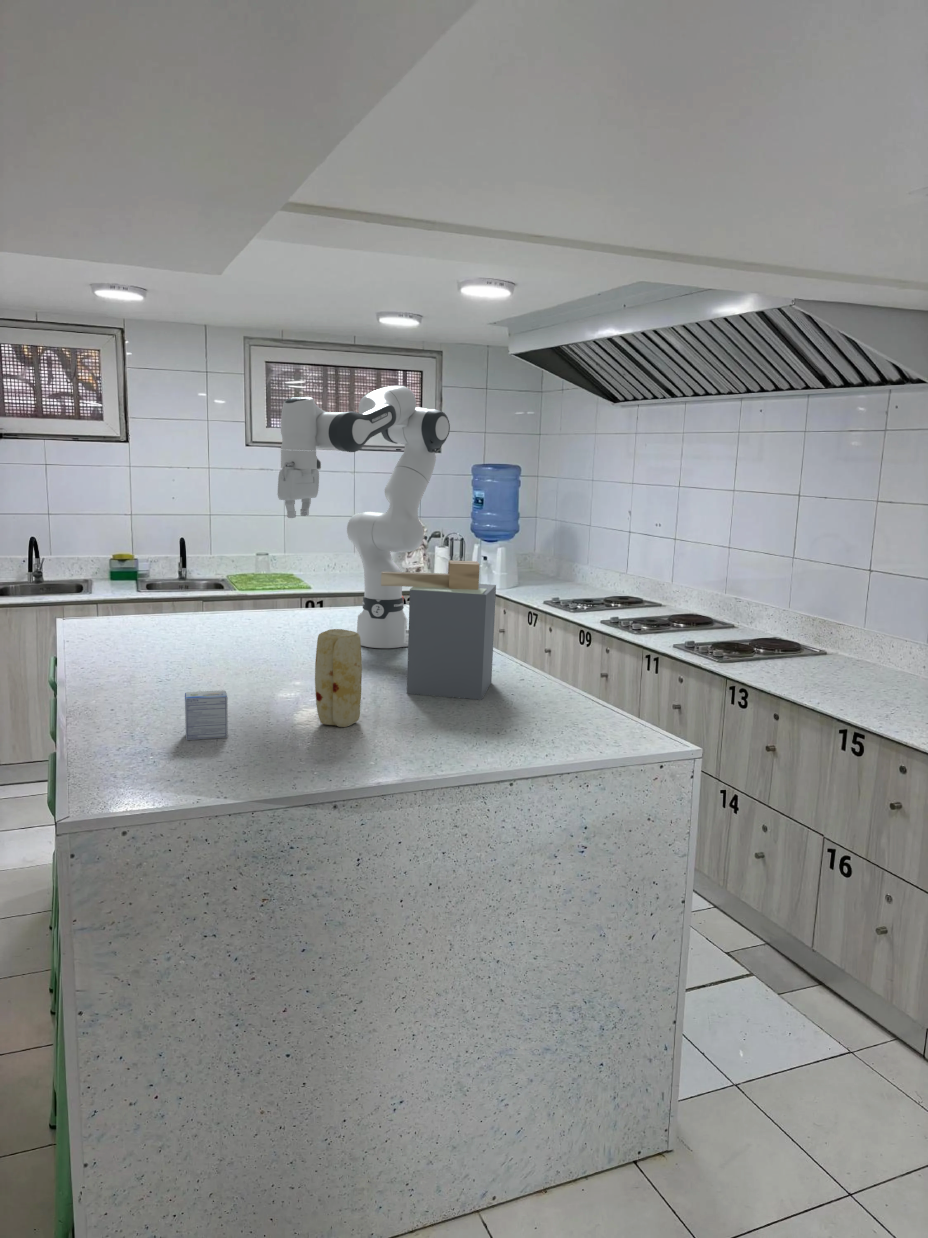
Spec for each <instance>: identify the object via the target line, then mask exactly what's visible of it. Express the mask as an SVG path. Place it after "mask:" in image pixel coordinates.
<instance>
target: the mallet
mask: <svg viewBox="0 0 928 1238" xmlns="http://www.w3.org/2000/svg"><path fill="white" fill-rule="evenodd" d="M447 561H448V563H447V564H448V565H447V572H446V573H442V572H440V573H439V572H437V573H436V572H410V571H409V572H408V571H402V572H381V586H402V587H410V588H412V587H440V588H449V589H477V590H478V589H479V584H480V563H479V562H478V560H477V561H475V560H447Z"/></svg>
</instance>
